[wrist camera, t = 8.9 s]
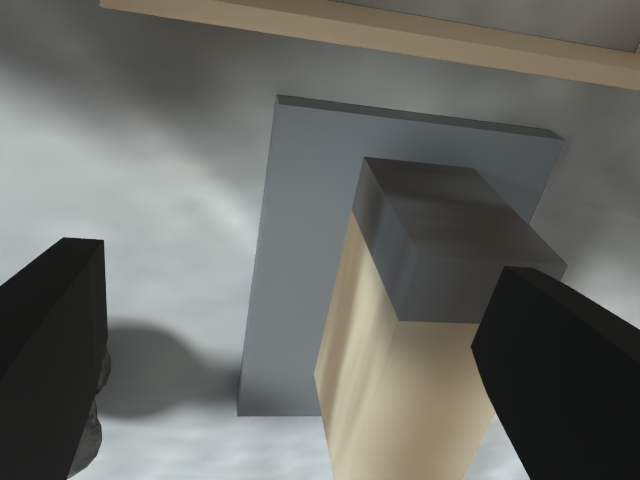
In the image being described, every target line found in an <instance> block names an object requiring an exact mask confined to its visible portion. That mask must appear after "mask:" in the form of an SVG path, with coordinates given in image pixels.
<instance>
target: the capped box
mask: <svg viewBox="0 0 640 480" xmlns="http://www.w3.org/2000/svg"><path fill="white" fill-rule="evenodd" d="M504 266H516V267H531V268H535V269H537V270H539V271H541V272H543V273H545V274H547V275H549V276H551V277H553V278H555V279H556V280H558V281H560V280H561V278H562V276H563V273H564V271H565V269H566V267H567V264H566V263H565V262H564V261H563V260H562V259H561V258H560V257H559V256H558V255H557V254H556V253H555V252H554V251H553V250H552V249H551V248H550V247H549V246H548V245H547V244H546V242H545V241H544V240H543V239H542V238H541V237H540V236H539V235H538V234H537V233H536V232H535V231H534V230H533V229H532V228H531V227H530V226H529V225H528V224H527V223H526V222H525V221H524V220H523V219H522V218H521V217H520V216H519V215H518V214H517V213H516V212H515V211H514V210H513V209H512V207H511V206H510V205H509V204H508V203H507V202H506V201H505V200H504V199H503V198H502V197H501V196H500V195H499V194H498V193H497V192H496V191H495V190H494V189H493V188H492V187H491V186H490V185H489V184H488V183H487V182H486V181H485V180H484V179H483V178H482V177H481V176H480V175H479V173H478V172H477V171H476V170H475V169H474V168H466V167H457V166H448V165H438V164H429V163H420V162H410V161H401V160H392V159H382V158H373V157H363V161H362V166H361V170H360V175H359V179H358V183H357V188H356V192H355V197H354V201H353V205H352V210H351V214H350V218H349V223H348V227H347V232H346V236H345V240H344V245H343V249H342V254H341V258H340V262H339V267H338V271H337V276H336V280H335V284H334V289H333V293H332V297H331V302H330V306H329V311H328V315H327V319H326V324H325V328H324V333H323V337H322V341H321V346H320V350H319V354H318V359H317V363H316V368H315V372H314V377H315V382H316V388H317V393H318V398H319V403H320V409H321V414H322V419H323V424H324V430H325V435H326V440H327V445H328V451H329V456H330V461H331V466H332V472H333V477H334V480H462V479H463V477H464V475H465V473H466V471H467V469H468V467H469V465H470V463H471V461H472V459H473V457H474V455H475V453H476V451H477V449H478V447H479V445H480V443H481V441H482V438H483V436H484V434H485V432H486V430H487V428H488V426H489V424H490V422H491V420H492V418H493V416H494V414H495V410H494V408H493V406H492V404H491V401H490V399H489V397H488V395H487V393H486V390H485V388H484V385H483V382H482V380H481V377H480V374H479V371H478V368H477V365H476V362H475V359H474V356H473V353H472V349H471V344H472V342H473V339H474V337H475V334H476V332H477V330H478V327H479V325H480V323H481V320H482V318H483V315H484V313H485V311H486V308H487V306H488V303H489V301H490V299H491V296H492V294H493V291H494V289H495V287H496V284H497V282H498V280H499V277H500V275H501V272H502V270H503V268H504Z"/></svg>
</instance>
